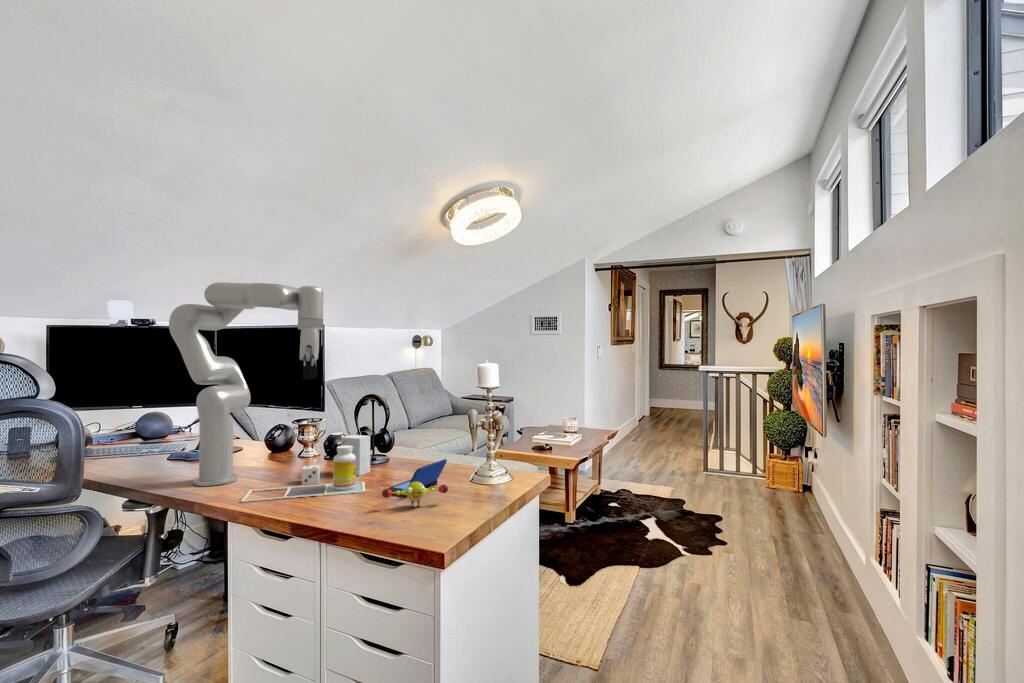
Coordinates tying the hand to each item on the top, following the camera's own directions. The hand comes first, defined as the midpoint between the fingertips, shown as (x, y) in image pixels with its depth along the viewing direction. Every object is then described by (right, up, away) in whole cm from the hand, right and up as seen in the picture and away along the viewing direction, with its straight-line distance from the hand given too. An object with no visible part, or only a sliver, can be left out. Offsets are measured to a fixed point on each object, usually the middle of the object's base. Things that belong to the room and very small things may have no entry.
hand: (310, 378), depth 156 cm
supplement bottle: (+12, -34, -4) cm, 36 cm away
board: (+2, -34, -7) cm, 35 cm away
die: (-2, -35, +5) cm, 35 cm away
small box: (+9, -35, +17) cm, 40 cm away
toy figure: (+38, -34, -21) cm, 55 cm away
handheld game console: (+35, -35, -5) cm, 49 cm away
